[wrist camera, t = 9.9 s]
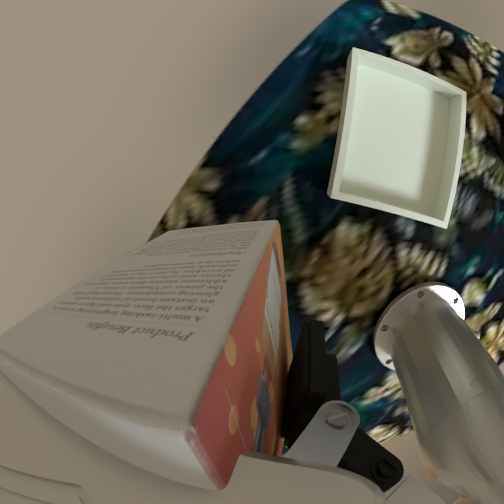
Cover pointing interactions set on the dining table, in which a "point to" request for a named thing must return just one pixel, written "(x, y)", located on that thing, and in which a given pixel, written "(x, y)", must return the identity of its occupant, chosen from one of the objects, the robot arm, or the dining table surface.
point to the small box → (168, 352)
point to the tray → (398, 139)
